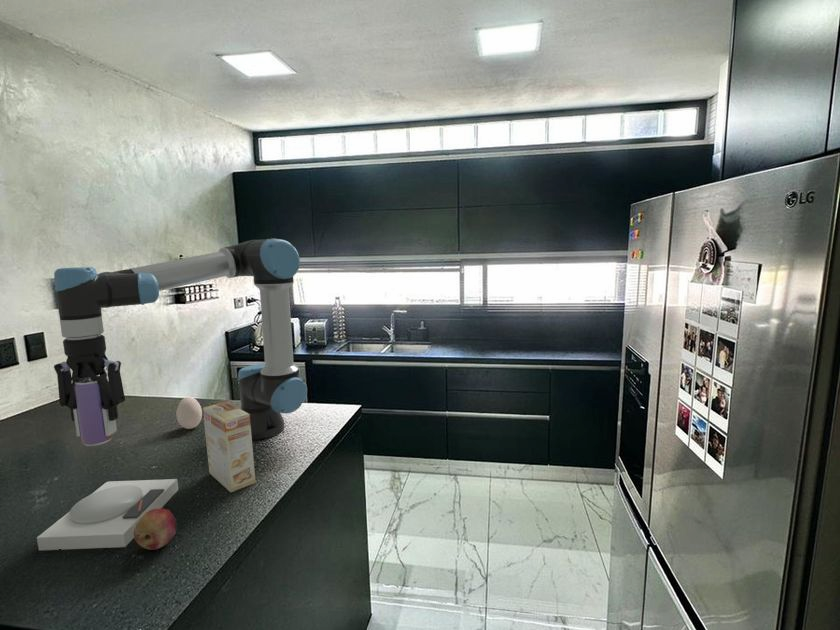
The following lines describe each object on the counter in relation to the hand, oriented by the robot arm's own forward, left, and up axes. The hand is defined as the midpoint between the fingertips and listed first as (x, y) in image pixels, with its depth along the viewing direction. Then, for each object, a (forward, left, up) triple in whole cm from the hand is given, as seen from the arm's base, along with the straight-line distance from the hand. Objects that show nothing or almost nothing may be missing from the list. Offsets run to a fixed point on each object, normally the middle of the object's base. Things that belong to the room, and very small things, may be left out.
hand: (97, 433), depth 102 cm
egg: (+4, -50, -21) cm, 54 cm away
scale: (-3, +1, -20) cm, 21 cm away
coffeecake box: (-24, -15, -21) cm, 35 cm away
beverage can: (0, 0, -2) cm, 2 cm away
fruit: (-19, +12, -21) cm, 30 cm away
